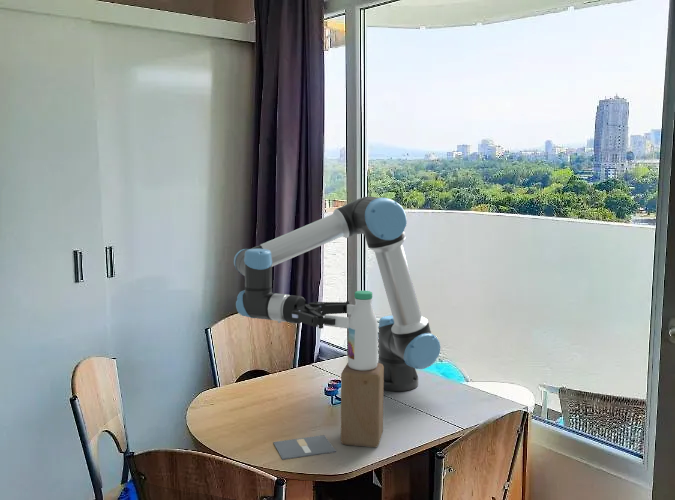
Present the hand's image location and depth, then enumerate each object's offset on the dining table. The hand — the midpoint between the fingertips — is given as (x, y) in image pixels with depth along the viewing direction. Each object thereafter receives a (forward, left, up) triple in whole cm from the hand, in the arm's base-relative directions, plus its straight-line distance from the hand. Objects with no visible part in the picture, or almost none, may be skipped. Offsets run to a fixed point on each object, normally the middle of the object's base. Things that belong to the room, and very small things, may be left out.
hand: (359, 317), depth 165 cm
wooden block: (-1, +1, -33) cm, 33 cm away
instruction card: (+15, +1, -33) cm, 37 cm away
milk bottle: (-1, 0, -13) cm, 13 cm away
